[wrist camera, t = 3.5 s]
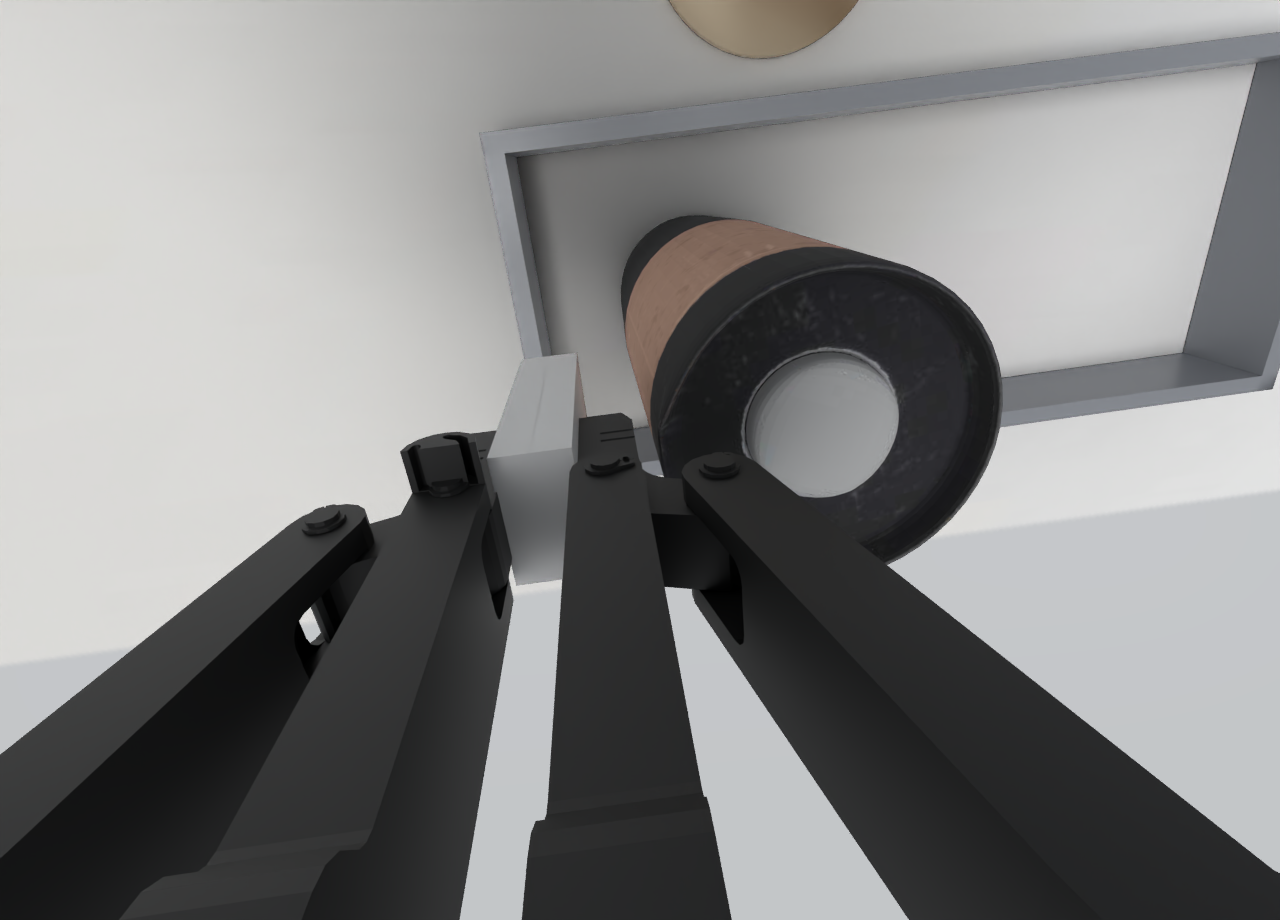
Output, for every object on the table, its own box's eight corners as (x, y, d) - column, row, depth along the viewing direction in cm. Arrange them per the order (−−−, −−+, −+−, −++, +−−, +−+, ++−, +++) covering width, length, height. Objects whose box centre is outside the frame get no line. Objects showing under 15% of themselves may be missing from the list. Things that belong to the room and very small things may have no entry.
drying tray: (554, 453, 34) (550, 490, 30) (495, 139, 28) (479, 132, 24) (1192, 364, 35) (1272, 389, 31) (1279, 40, 29) (1393, 17, 25)
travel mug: (795, 267, 31) (1085, 387, 13) (706, 390, 34) (849, 637, 15) (671, 175, 29) (814, 166, 11) (586, 313, 31) (587, 495, 13)
